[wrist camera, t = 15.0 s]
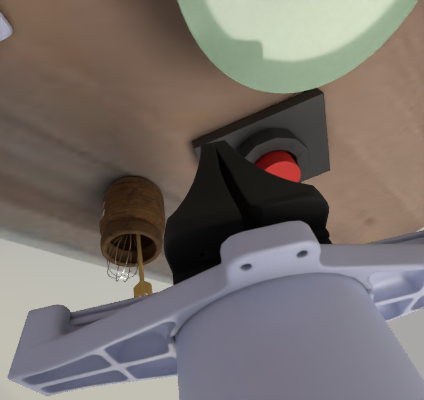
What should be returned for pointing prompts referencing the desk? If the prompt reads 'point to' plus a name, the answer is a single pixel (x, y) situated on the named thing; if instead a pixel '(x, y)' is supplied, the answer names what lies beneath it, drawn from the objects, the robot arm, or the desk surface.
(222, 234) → the robot arm
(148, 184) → the utensil holder
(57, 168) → the desk surface
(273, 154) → the button
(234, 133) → the button box
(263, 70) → the lid
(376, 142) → the desk surface
